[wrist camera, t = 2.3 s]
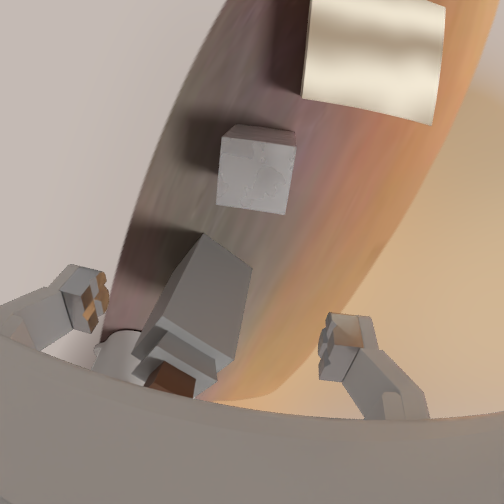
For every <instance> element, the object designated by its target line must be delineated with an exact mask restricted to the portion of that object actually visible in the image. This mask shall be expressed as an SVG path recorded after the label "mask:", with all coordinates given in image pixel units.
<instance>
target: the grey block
mask: <svg viewBox="0 0 504 504" xmlns="http://www.w3.org/2000/svg"><path fill="white" fill-rule="evenodd" d="M295 153H296V137H295V132H291V131H285V130H278V129H272V128H265V127H258V126H250V125H242V124H236V125H235V126H233V127H232V128H231V129H230V130H229V131H228V132H227V133H226V134H224V135H223V136H222V140H221V151H220V162H219V173H218V185H217V198H216V205H223V206H230V207H237V208H244V209H250V210H257V211H263V212H270V213H276V214H282V215H285V211H286V206H287V200H288V194H289V189H290V183H291V177H292V171H293V165H294V159H295Z"/></svg>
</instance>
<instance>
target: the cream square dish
mask: <svg viewBox="0 0 504 504" xmlns="http://www.w3.org/2000/svg"><path fill="white" fill-rule="evenodd" d="M445 9H446V8H445V7H443V6H440V5H437V4H435V3H432V2H429V1H427V0H310V6H309V17H308V27H307V37H306V47H305V57H304V66H303V75H302V85H301V93H300V96H301V98H302V99H309V100H316V101H322V102H328V103H334V104H340V105H345V106H351V107H356V108H361V109H366V110H370V111H375V112H379V113H384V114H388V115H392V116H396V117H400V118H404V119H408V120H412V121H416V122H419V123H423V124H427V125H430V126H432V121H433V115H434V109H435V104H436V97H437V91H438V84H439V77H440V69H441V60H442V51H443V40H444V27H445Z"/></svg>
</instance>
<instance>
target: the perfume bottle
mask: <svg viewBox="0 0 504 504" xmlns="http://www.w3.org/2000/svg"><path fill="white" fill-rule="evenodd" d="M251 273H252V268H251V267H250V266H249V265H247V264H246V263H244V262H243V261H242V260H240V259H239V258H237V257H236V256H235V255H233V254H232V253H230V252H229V251H228V250H226V249H225V248H224V247H222V246H221V245H219V244H218V243H217V242H215V241H214V240H212V239H211V238H210V237H208V236H207V235H206V234H204V233H203V234H202V236H201V237H200V238H199V239H198V241H197V242H196V243H195V245H194V246H193V247H192V248H191V250H190V251H189V252H188V253H187V255H186V256H185V257H184V258H183V260H182V261H181V262H180V264H179V265H178V266H177V267H176V269H175V270H174V271H173V273H172V275H171V277H170V279H169V281H168V282H167V284H166V286H165V288H164V290H163V292H162V294H161V295H160V297H159V299H158V301H157V303H156V305H155V307H154V309H153V311H152V313H151V315H150V317H149V318H148V320H147V322H146V324H145V326H144V328H143V330H142V332H141V334H140V336H139V338H138V340H137V342H136V344H135V346H134V348H133V350H132V352H131V355H133V356H134V357H136V358H137V359H139V360H141V362H140V363H139V364H138V366H137V367H136V368H135V369H134V371H133V372H132V373H131V374H132V375H134V376H135V377H137V378H139V379H140V380H142V381H144V382H145V384H144V387H148V388H151V389H155V390H159V391H163V392H167V393H171V394H175V395H180V396H184V397H188V398H194V397H195V396H197V395H198V394H200V393H201V392H203V391H204V390H206V389H207V388H209V387H210V386H211V385H213V384H214V383H216V382H217V373H218V372H219V371H220V370H222V369H223V368H224V367H226V366H227V365H228V364H230V363H231V362H232V361H234V358H235V353H236V348H237V343H238V338H239V333H240V328H241V323H242V318H243V313H244V308H245V303H246V298H247V293H248V288H249V283H250V278H251Z"/></svg>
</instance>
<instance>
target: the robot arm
mask: <svg viewBox="0 0 504 504" xmlns="http://www.w3.org/2000/svg"><path fill="white" fill-rule="evenodd" d="M105 283H106V276H105V274H104V272H102V271H98V270H94V269H90V268H86V267H81V266H77V265H74V264H70V265H68V266H67V267H66V268H65V269H64V270H63V271H62V272H61V273H60V274H59V276H58V277H57V278H56V279H55V280H54V281H53V282H52V283H51V284H50V286H49V287H43V288H41V289H38V290H36V291H33V292H31V293H28V294H26V295H24V296H21V297H19V298H17V299H14V300H12V301H10V302H8V303H5V304H3V305H1V306H0V504H504V411H501V412H495V413H489V414H481V415H472V416H463V417H450V418H435V419H430V416H429V412H428V407H427V403H426V399H425V395H424V392H423V391H422V390H421V389H420V388H419V387H418V386H417V385H416V384H415V383H414V382H413V381H412V380H411V379H410V377H409V376H408V375H406V373H405V372H404V371H403V370H402V369H401V368H400V367H399V366H398V365H397V364H396V363H395V362H394V361H393V360H392V359H391V358H390V357H389V356H388V355H387V354H386V353H385V352H384V351H383V350H379V348H378V343H377V339H376V335H375V331H374V327H373V322H372V319H371V318H370V317H369V316H359V315H348V314H340V313H333V312H329V313H328V315H327V318H326V320H325V321H326V327H325V328H324V329H322V332H321V335H320V338H319V343H318V355H319V356H320V358H321V360H320V363H319V379H320V380H327V381H336V382H342V384H343V386H344V387H345V389H346V390H347V392H348V393H349V395H350V396H351V398H352V399H353V401H354V402H355V404H356V405H357V407H358V408H359V410H360V411H361V413H362V414H363V416H364V417H365V418H364V419H341V418H325V417H313V416H302V415H291V414H283V413H275V412H267V411H260V410H253V409H246V408H240V407H235V406H228V405H223V404H218V403H213V402H207V401H203V400H198V399H195V397H194V398H188V397H184V396H180V395H175V394H171V393H167V392H163V391H159V390H155V389H151V388H148V387H144V384H145V382H144V381H142V380H140V379H139V378H137V377H135V376H134V375H132V374H131V373H132V372H133V371H134V369H135V368H136V367H137V366H138V364H139V363H140V362H141V360H139V359H137V358H136V357H134V356H133V355H131V352H132V350H133V348H134V346H135V344H136V342H137V340H138V338H139V336H140V334H141V332H138V331H129V330H125V331H118V332H115V333H113V334H112V335H110V336H109V338H108V339H107V340H106V341H105V342H103V343H99V344H97V345H96V346H95V348H94V353H95V355H96V359H95V362H94V364H93V366H92V368H91V370H88V369H86V368H82V367H80V366H77V365H74V364H72V363H69V362H66V361H64V360H61V359H58V358H56V357H53V356H51V355H48V354H46V353H43V352H41V350H42V349H44V348H46V347H47V346H48V345H50V344H51V343H53V342H55V341H56V340H58V339H59V338H61V337H62V336H64V335H65V334H67V333H68V332H70V331H72V330H73V329H76V330H79V331H83V332H87V333H90V334H91V333H92V332H93V330H94V328H95V327H96V325H97V324H98V322H99V321H98V317H99V316H101V315H103V314H104V313H105V311H106V310H107V307H108V304H109V291H108V289H107V288H106V287H105V285H104V284H105Z"/></svg>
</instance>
